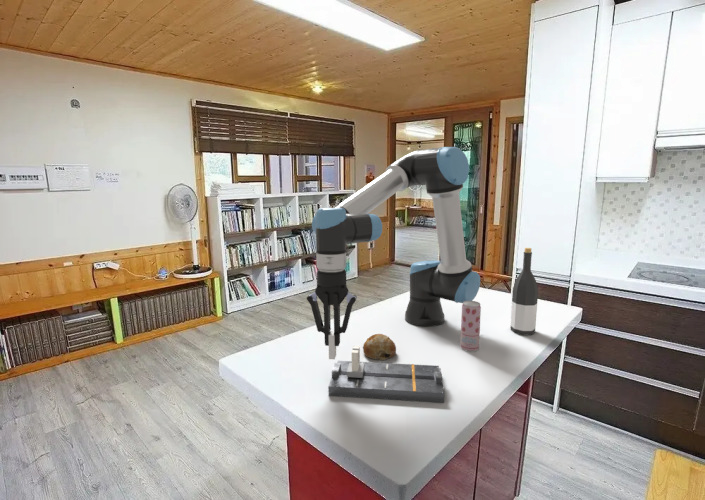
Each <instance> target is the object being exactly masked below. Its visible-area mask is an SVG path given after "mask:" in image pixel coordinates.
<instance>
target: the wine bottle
mask: <svg viewBox="0 0 705 500" xmlns="http://www.w3.org/2000/svg"><path fill="white" fill-rule="evenodd" d="M532 255H533V252H532V248H531V247H524V252H523V263H522V270H521V272H520V273H519V274H518V276H517V277H516V279H515V281H514V283H513V287H512V294H511V295H512V296H511V297H512V298H511V312H510V313H511V314H510V330H511V332H513V333H514V334H518V335H521V336H532V335H534V334H535V333H536V326H537V311H538V297H539V288H538V284H537V280H536V278H535V276H534V274H533V272H532V270H531V269H532Z"/></svg>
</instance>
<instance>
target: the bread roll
mask: <svg viewBox="0 0 705 500" xmlns="http://www.w3.org/2000/svg"><path fill="white" fill-rule="evenodd" d="M362 350H363V354H364V355H365V357H367V358H369V359H371V360H375V361H385V360H387V359H388V360H389V359H390V358H393V357H394V356H395V355H396V352H397V346H396V343H395V342H394V341H393V340H392V339H391V338H390V336H387V335H386V334H383V333H376V334H372V335H371V336H370V335H369V337H368V338H367V339H366V341H365V342H364V343H363V345H362Z"/></svg>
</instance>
